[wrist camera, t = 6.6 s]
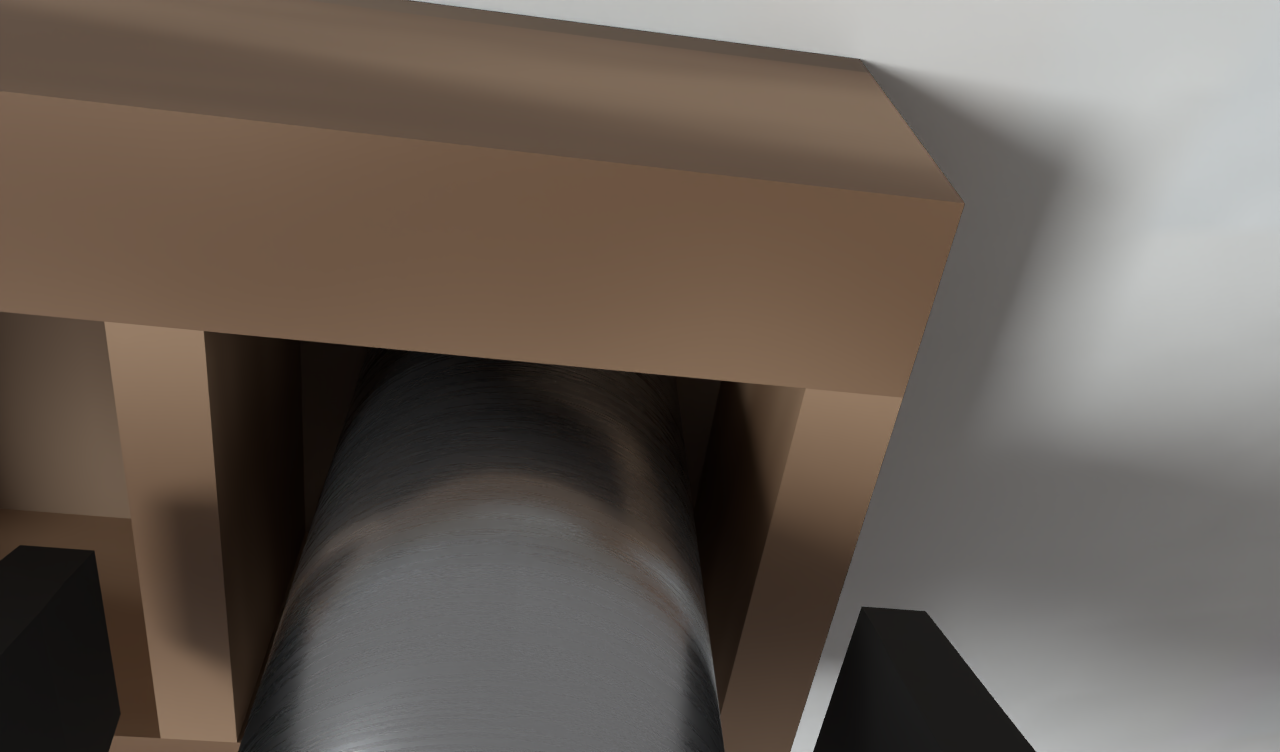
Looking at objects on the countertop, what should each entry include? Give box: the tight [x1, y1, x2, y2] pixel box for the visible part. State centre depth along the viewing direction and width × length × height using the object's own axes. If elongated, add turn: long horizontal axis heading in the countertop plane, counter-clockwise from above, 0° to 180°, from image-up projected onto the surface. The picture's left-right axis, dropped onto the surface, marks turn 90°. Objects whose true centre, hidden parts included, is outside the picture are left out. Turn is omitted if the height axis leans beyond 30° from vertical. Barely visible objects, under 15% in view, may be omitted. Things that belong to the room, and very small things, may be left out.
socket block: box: [0, 0, 965, 752], centre depth 12 cm, size 9×13×4 cm
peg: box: [238, 347, 725, 752], centre depth 11 cm, size 4×4×7 cm
